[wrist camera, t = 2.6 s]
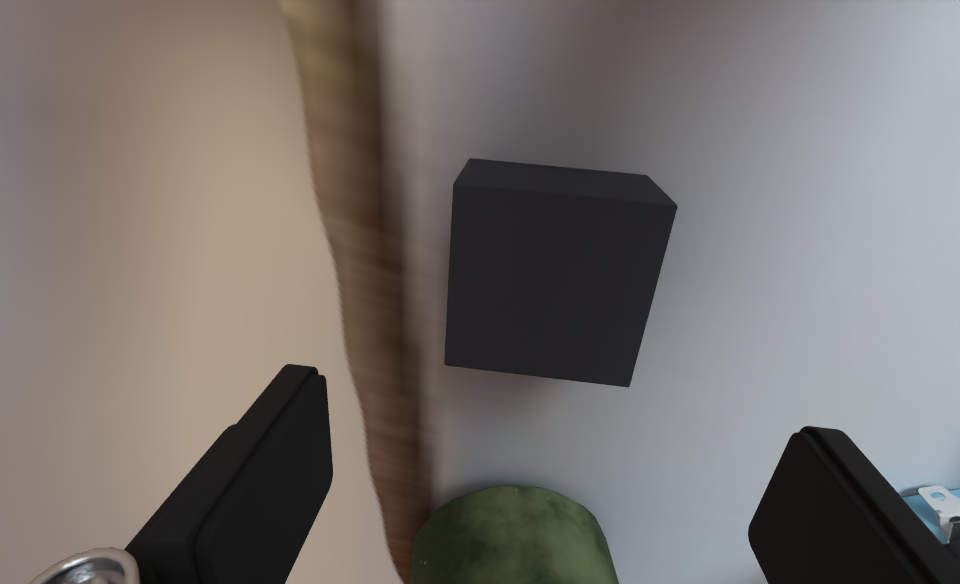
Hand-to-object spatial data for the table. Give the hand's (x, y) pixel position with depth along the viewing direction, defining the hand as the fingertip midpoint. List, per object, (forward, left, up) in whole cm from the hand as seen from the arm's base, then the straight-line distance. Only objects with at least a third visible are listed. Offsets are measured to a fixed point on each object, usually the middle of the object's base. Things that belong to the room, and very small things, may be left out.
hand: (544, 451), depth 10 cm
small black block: (-1, 0, -10) cm, 10 cm away
